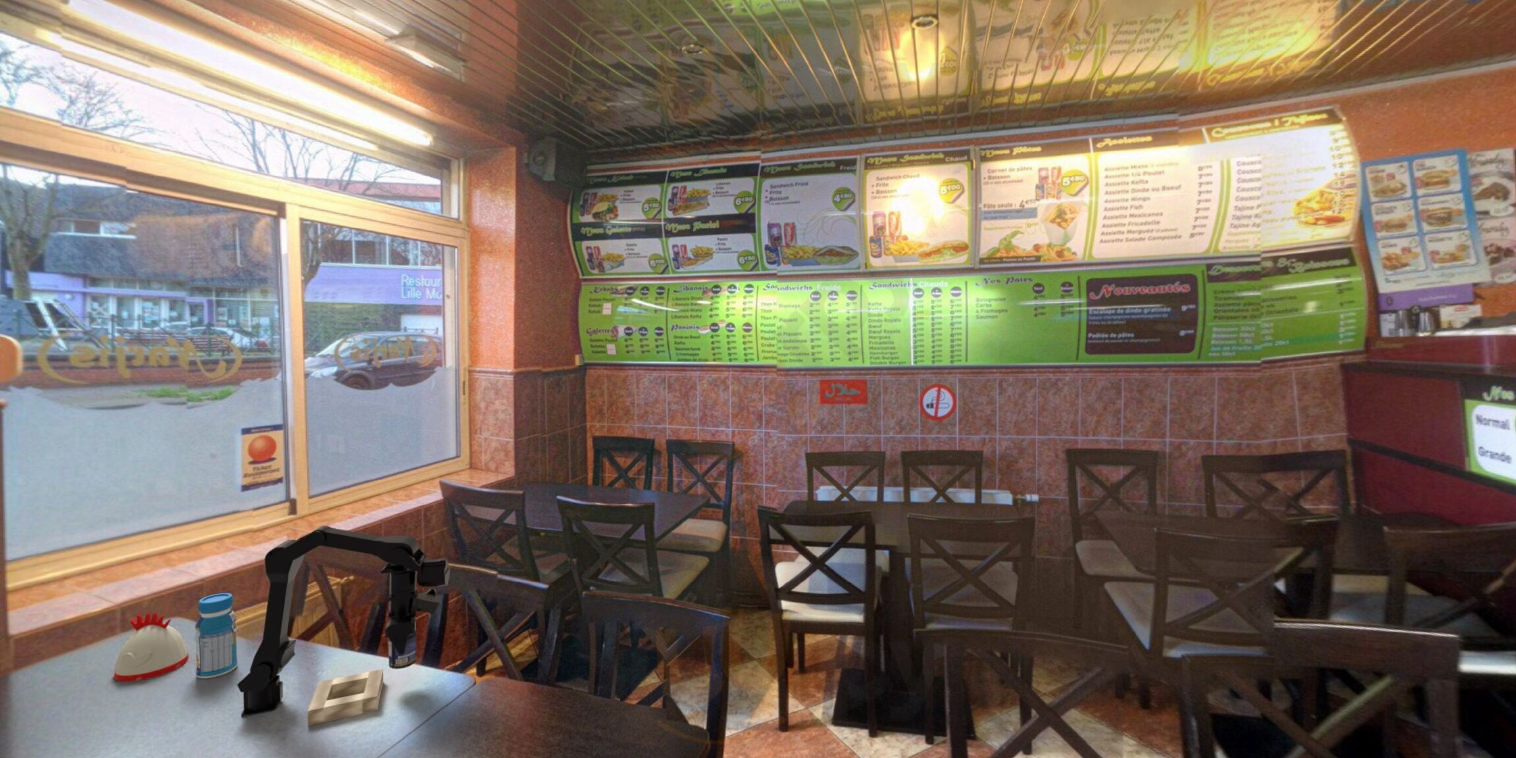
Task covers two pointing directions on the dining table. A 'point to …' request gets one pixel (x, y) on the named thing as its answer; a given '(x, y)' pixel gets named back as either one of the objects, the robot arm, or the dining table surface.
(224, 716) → the dining table surface
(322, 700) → the holder block
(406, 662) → the pill bottle
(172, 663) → the cream hat
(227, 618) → the blue vitamin bottle
